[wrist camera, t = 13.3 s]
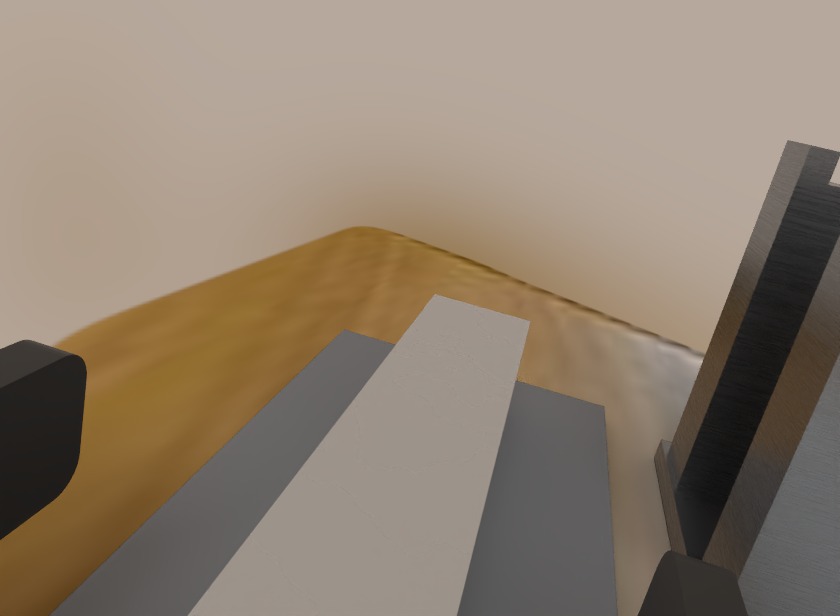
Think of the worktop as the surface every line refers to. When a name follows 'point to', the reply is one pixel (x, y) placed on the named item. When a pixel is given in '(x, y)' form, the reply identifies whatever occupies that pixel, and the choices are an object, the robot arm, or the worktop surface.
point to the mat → (299, 437)
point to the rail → (389, 483)
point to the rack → (770, 408)
